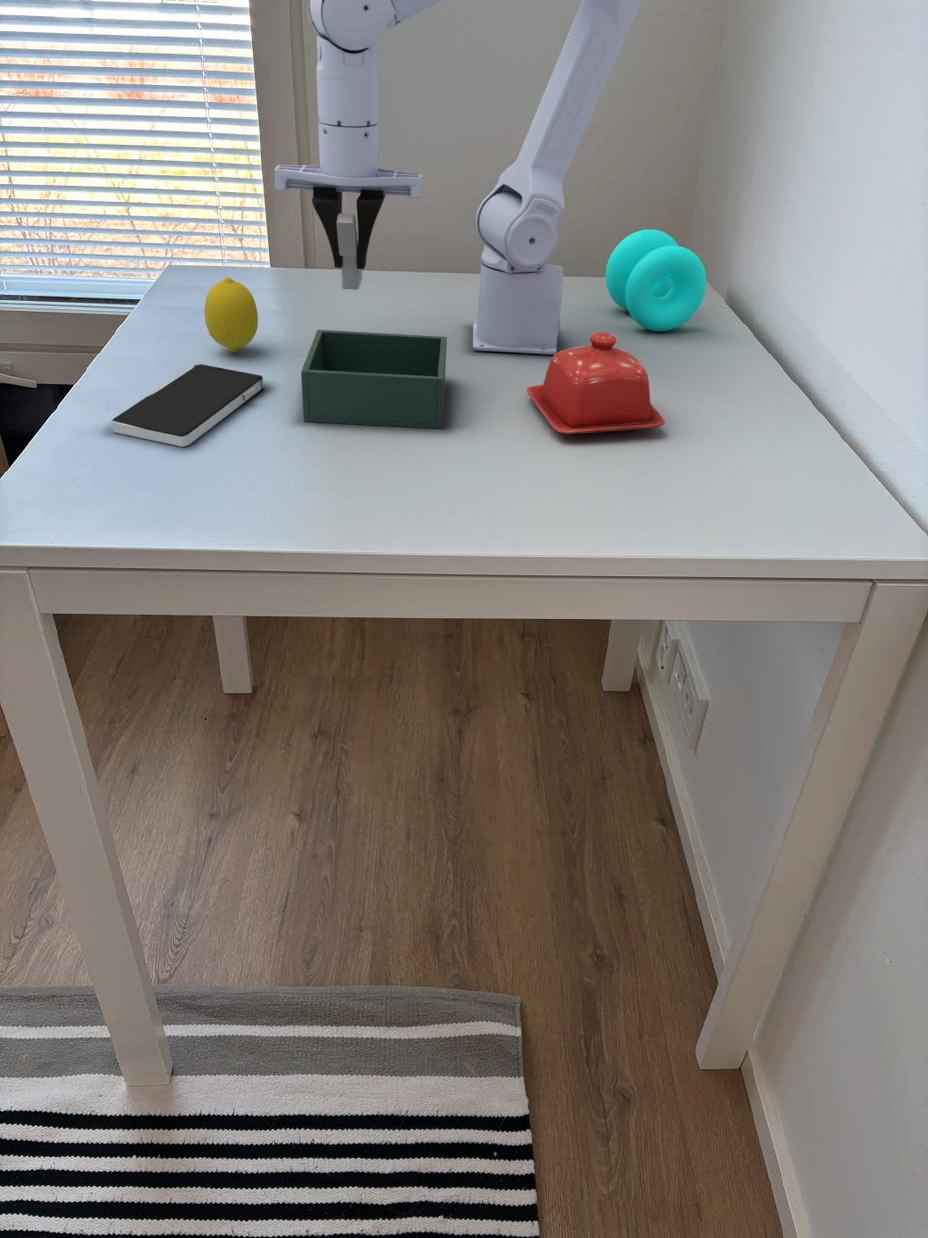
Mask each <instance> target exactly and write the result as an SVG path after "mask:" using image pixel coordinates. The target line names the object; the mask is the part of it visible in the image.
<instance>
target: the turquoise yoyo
mask: <svg viewBox="0 0 928 1238" xmlns="http://www.w3.org/2000/svg"><path fill="white" fill-rule="evenodd" d="M605 286H606V289H607V292H608V294H609V296H610V298H611V299H612V300H613V302H614V303H616V305H617V306H619V307H620V308H622V309H623V310H626V311H628V313H629V315H630V317H631V318H632V319H633V321H634V322H635V323H636V324H638V325H639V326H640V327H642V328H644V329H645V330H649V331H653V332H666V331H671V330H675V329H676V328H678V327H680V326H682V325H683V324H685V323H686V322H687V321H689V320H690V319H691V318H693V316H694V315H695V314H696V313H697V312H698V309H699V308H700V307H701V305H702V302H703V300H704V298H705V295H706V290H707V273H706V270H705V266H704V264H703V262H702V261H701V259H700V257H699V256H698V255H697V254H696V253H694V252H693V251H692V250H690V249H688V248H686V247H683V246H680V245H678V243H677V242H676V240H675V239H674V238H673V237H672V236H670V235H669V234H668V233H666V232H664V231H662V230H659V229H642V230H638V231H636V232H633V233H631V234H629V235H628V236H626V237H624V238H623V239H622V240H621V241H620V242H619V243H618V244H617V245H616V247H615V248H614V249H613V251H612V252H611V254H610V257H609V259H608V261H607V264H606V267H605Z"/></svg>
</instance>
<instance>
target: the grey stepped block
mask: <svg viewBox="0 0 928 1238" xmlns="http://www.w3.org/2000/svg"><path fill="white" fill-rule="evenodd" d="M356 220H357V219H356V215H355V214H354V213H343V212H342V213H339V214H338V217H337V223H336V224H337V235H338V245H339V255H341V256H342V267H341V289H342V290H352V291H357V290H359V289H360V286H361V283H362V281H363V269H357V252H358V230H357V222H356Z"/></svg>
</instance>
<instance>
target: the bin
mask: <svg viewBox="0 0 928 1238" xmlns="http://www.w3.org/2000/svg"><path fill="white" fill-rule="evenodd" d="M447 344H448V337H447V336H439V335H438V336H437V335H421V334H403V333H385V332H368V331H367V332H366V331H347V330H332V329H331V330H330V329H329V330H328V329H317V330H316V332H315V335H314V338H313V340H312V342H311V345H310V348H309V351H308V352H307V356H306V359H305V361H304V364H303V366H302V368H301V371H300V376H301V396H302V414H303V418H302V419H303V422H305V423H307V422H308V423H325V424H342V425H345V424H346V425H360V426H361V425H363V426H382V427H402V428H420V429H438V430H443V418H444V417H443V416H444V402H445V389H446V369H447V368H446V367H447V366H446V365H447V347H448V346H447Z"/></svg>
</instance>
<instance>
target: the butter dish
mask: <svg viewBox="0 0 928 1238" xmlns="http://www.w3.org/2000/svg"><path fill="white" fill-rule="evenodd" d="M589 341H590V343H591V345H583V346H575V347H570V348H566V349H563V350H559V351H556V354H553V356H552V357H551V359H550V361H549V364H548V366H547V370H546V374H545V377H544V380H543V384H538V385H530V386H528V387H527V388H526V390H525V391H526V394H527V395H528V397H529V398H530V400H531V401H532V402H533V403H534V405H535V406H536V407H537V409H538V410H539V411H540V412H541V414H542V415H543V416H544V418H545V420H546V422H548V424H549V426H551V427H552V428H553V429H554V431H556V432H558V433H560V434H566V435H570V434H571V435H572V434H590V433H591V434H592V433H603V432H604V433H605V432H617V431H631V430H632V431H633V430H641V429H654V428H659V427H662V426H664V425H665V423H666V422H665V419H664V417H663V416H662V415H661V414H660V412H659V411H658V410H657V409H656V408H655V407H654V406H653V405H652V404H651V393H650V392H651V390H650V381H649V375H648V373H647V370H646V369H645V368H644V366H643V365H642V364H641V362H640V361H639V360H638V359H637V358H635V356H633V355H632V354H630V353H629V352H628V351H626V350H624V349H621V348H619V347H615V344H617V338H616V337H615V335H613V334H612V333H610V332H606V331H597V332H594V333H592V334H591V335H590V337H589Z"/></svg>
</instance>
